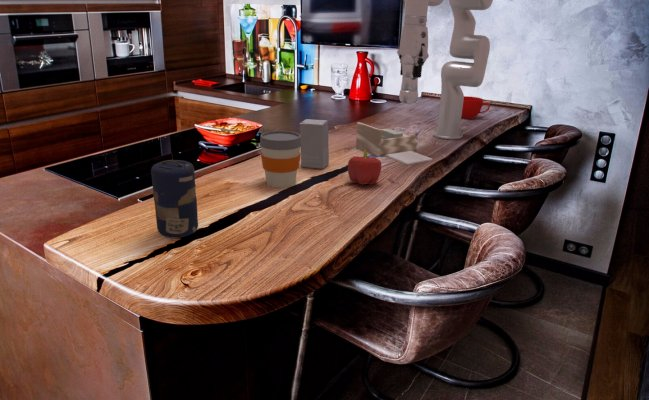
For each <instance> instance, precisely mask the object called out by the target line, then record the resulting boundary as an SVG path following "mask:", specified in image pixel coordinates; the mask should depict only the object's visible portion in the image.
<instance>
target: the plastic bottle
mask: <svg viewBox="0 0 649 400" xmlns="http://www.w3.org/2000/svg"><path fill="white" fill-rule="evenodd" d="M418 56H419V55H418ZM418 61H419V59H418ZM401 64H402V75H401V76H402V77H401V78H402V79H401V85H400V90H399V101H400V102H401V103H404V104H415V103H417V101H418V99H419V90H418V87H419V85H418V84H419V82H418V80H419V78H413V70H414V66H416V65H415V60H414V57H412V56H410V55H409V54H405V55H404V57H403V59H402V63H401Z"/></svg>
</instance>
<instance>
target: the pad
mask: <svg viewBox="0 0 649 400" xmlns="http://www.w3.org/2000/svg"><path fill="white" fill-rule="evenodd" d="M385 157H387V158H389V159H392V160H394V161H397V162H399V163H402V164H404V165H407V166H408V165H413V164H414V165H415V164H419V163H425V162H430V161H433V158H432V157H428V156H426V155H424V154H420V153H418V152H416V151H406V152H400V153H393V154H387V155H385Z"/></svg>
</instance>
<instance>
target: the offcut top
mask: <svg viewBox="0 0 649 400" xmlns="http://www.w3.org/2000/svg"><path fill="white" fill-rule="evenodd" d="M387 129H388V130H383V135H382V136H384V137H386V138H389V139H390V138H397V137H404V133H403V132H400V131H398V130H395V129H394V130H392V129H389V128H387Z"/></svg>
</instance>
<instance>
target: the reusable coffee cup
mask: <svg viewBox="0 0 649 400" xmlns="http://www.w3.org/2000/svg"><path fill="white" fill-rule="evenodd" d="M259 138H260V139H259V147H261V153H260V156H261V164H262V169H263V170H264V173H265V182H266V185H268V186H269V187H272V188H277V189H278V188H280V189H282V188H284V189H285V188H289V187H293V186H294V185H296V180H297V173H298V170H299V167H300V164H301V145H302V144H301V135H300V133H298V132H296V131H288V130H273V131H266V132H263V133H261V134H260V137H259Z"/></svg>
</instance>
